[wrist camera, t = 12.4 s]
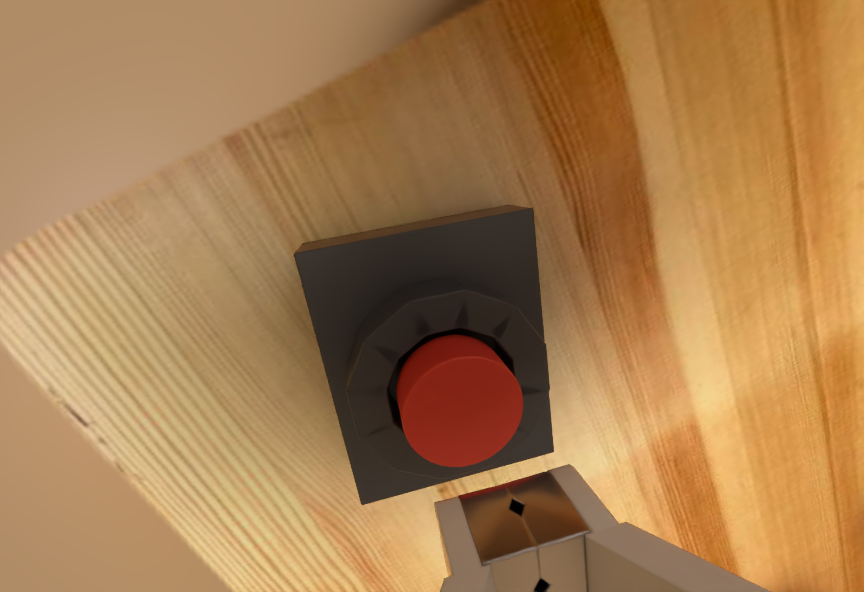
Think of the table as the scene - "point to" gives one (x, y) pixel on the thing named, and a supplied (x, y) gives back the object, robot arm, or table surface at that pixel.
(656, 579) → the robot arm
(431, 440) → the button
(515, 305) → the control block
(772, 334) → the table surface
